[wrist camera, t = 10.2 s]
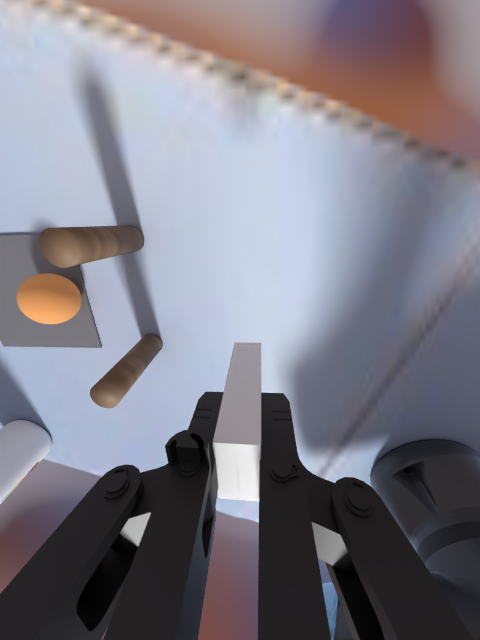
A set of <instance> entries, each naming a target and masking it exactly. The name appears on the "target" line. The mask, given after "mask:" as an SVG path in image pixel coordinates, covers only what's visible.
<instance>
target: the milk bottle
mask: <svg viewBox="0 0 480 640" xmlns="http://www.w3.org/2000/svg"><path fill="white" fill-rule="evenodd" d="M51 446H52V440H51V437H50V436H49V434H48V433H47V432H46V431H45V430H44V429H43V428H42V427H40V426H39V425H37V424H35V423H33V422H30V421H26V420H16V421H12V422H10V423H8V424H7V425H5V426H4V427H3V428H2V429H0V504H1V503H2V502H3V501H4V500H5V499H6V497H7V496H8V495H9V494H10V493H11V492H12V491H13V490H14V489H15V488H16V487H17V486H18V485H19V484H20V483H21V481H22V480H23V479H24V478H25V477H26V476H27V475H28V474H29V473H30V472H31V471H32V470H33V468H34V467H35V466H36V465H37V464H38V463H39V462H40V461H41V460H42V459H43V458H44V456H45V455H46V454H47V453H48V452H49V451H50V449H51Z"/></svg>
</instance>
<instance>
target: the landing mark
mask: <svg viewBox="0 0 480 640" xmlns="http://www.w3.org/2000/svg"><path fill="white" fill-rule="evenodd" d="M40 235H41V234H31V235H0V340H1V342H2V344H3V346H21V347H84V348H101V347H102V345H101V342H100V338H99V335H98V331H97V328H96V325H95V321H94V318H93V314H92V311H91V307H90V304H89V300H88V297H87V293H86V290H85V287H84V283H83V280H82V276H81V273H80V269H79V266H78V265H75V266H71V267H66V268H61V267H57V266H55V265H53V264H51V263H50V262H49V261H48V260H47V259H46V258H45V257H44V255H43V254H42V252H41V249H40V246H39V238H40ZM44 273H50V274H57V275H60V276H63V277H65V278H67V279H69V280H70V281H72V282H73V283H74V284H75V285H76V286H77V288H78V289H79V291H80V294H81V298H82V302H81V307H80V309H79V311H78V312H77V314H76V315H75V316H74V317H72V318H71V319H69V320H68V321H65V322H62V323H58V324H43V323H39V322H36V321H34V320H32V319H30V318H28V317H27V316H26V315H25V314H24V313H23V312H22V311H21V310H20V308H19V306H18V304H17V298H16V297H17V291H18V289H19V287H20V285H21V284H22V283H23V282H24V281H25V280H27V279H28V278H30V277H32V276H34V275H38V274H44Z"/></svg>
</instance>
